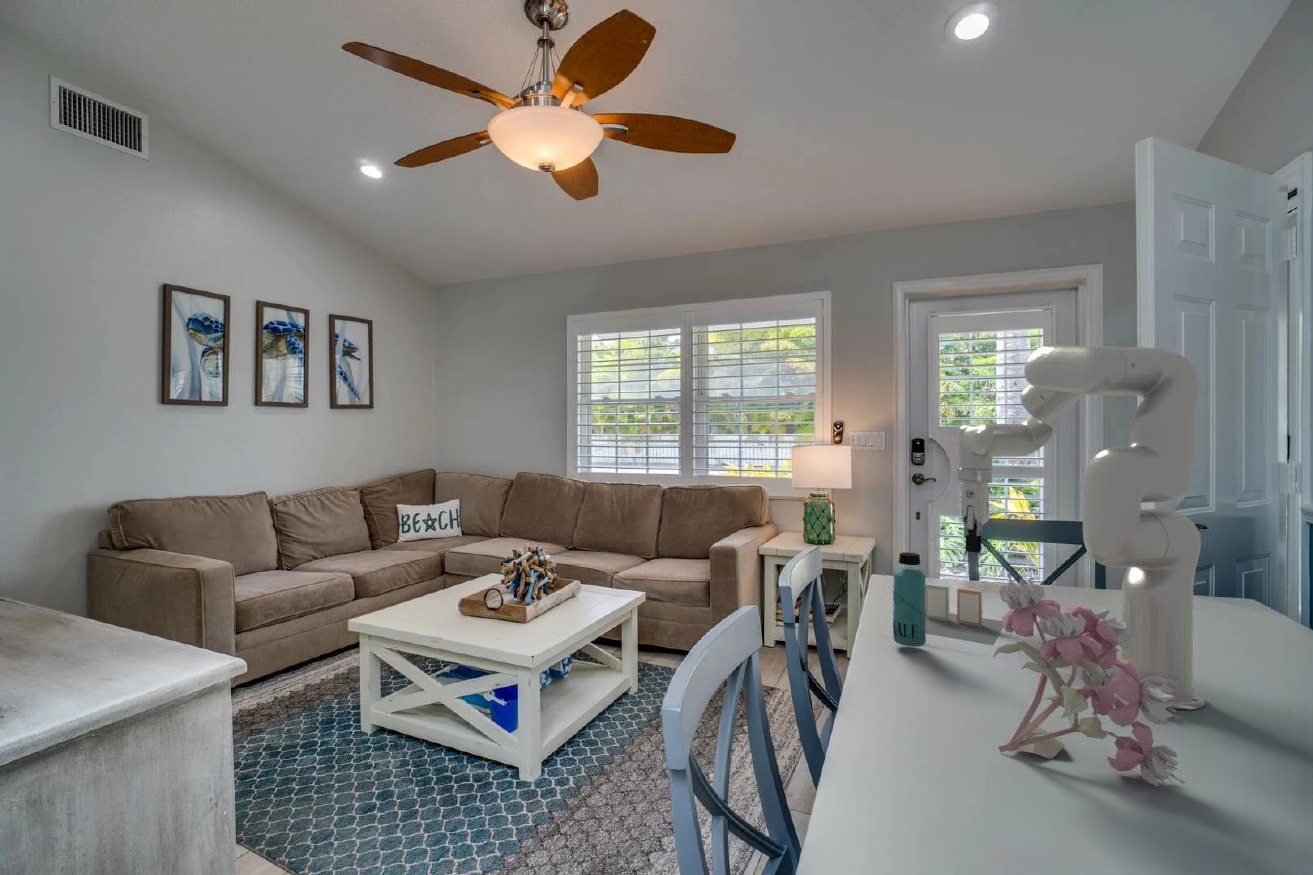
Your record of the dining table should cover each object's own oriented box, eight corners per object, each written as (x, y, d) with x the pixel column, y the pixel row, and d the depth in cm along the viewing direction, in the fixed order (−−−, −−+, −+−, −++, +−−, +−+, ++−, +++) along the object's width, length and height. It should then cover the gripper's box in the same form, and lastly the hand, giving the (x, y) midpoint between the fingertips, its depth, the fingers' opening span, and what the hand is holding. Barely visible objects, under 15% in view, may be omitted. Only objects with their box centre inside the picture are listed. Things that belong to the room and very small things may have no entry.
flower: (1072, 818, 69) (1165, 616, 70) (930, 712, 91) (1002, 558, 91) (1180, 860, 75) (1265, 673, 76) (1023, 750, 96) (1090, 606, 97)
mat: (993, 647, 129) (993, 644, 129) (894, 630, 141) (894, 627, 141) (1005, 624, 146) (1005, 621, 146) (915, 610, 157) (915, 607, 157)
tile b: (947, 621, 145) (947, 587, 145) (925, 618, 148) (925, 584, 148) (949, 619, 147) (949, 586, 147) (926, 616, 150) (926, 583, 150)
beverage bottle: (920, 644, 132) (920, 550, 132) (931, 655, 125) (931, 556, 125) (888, 643, 132) (888, 549, 132) (897, 654, 126) (897, 555, 126)
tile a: (981, 627, 141) (981, 592, 141) (957, 623, 144) (957, 588, 144) (982, 625, 143) (982, 590, 143) (958, 621, 146) (958, 587, 146)
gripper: (987, 479, 141) (986, 559, 142) (996, 474, 153) (995, 548, 154) (951, 477, 146) (950, 555, 146) (963, 473, 158) (962, 545, 158)
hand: (973, 551), depth 150 cm, fingers closed
